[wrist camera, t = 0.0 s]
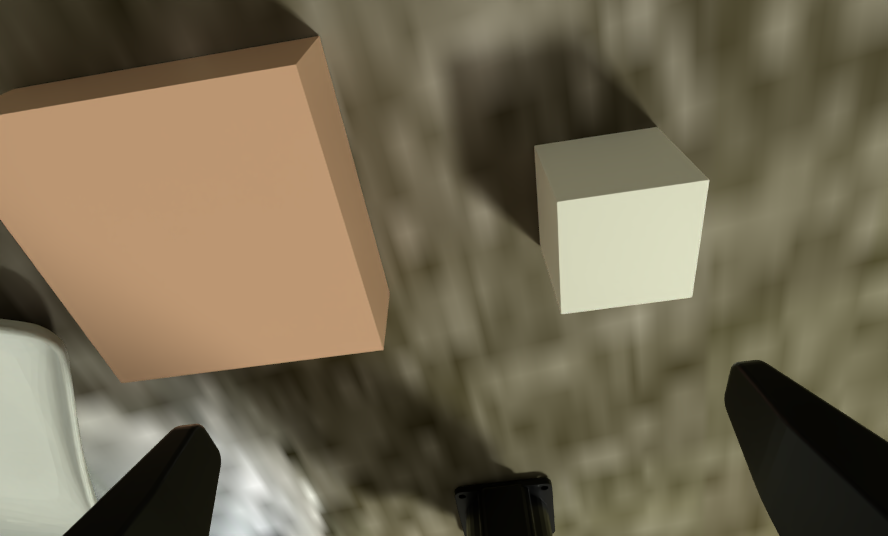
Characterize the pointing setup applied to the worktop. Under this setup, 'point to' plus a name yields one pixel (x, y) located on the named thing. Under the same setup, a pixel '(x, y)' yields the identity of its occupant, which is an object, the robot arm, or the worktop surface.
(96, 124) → the stand
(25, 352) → the salad plate
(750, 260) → the worktop surface
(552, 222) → the block
